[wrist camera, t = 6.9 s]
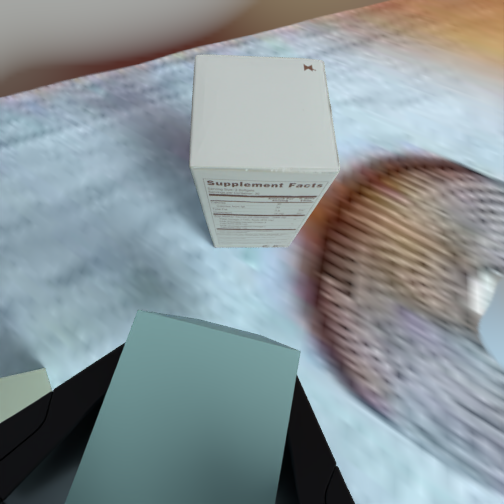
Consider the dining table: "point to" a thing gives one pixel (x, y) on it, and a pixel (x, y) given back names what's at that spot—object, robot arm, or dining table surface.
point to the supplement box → (260, 146)
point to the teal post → (190, 417)
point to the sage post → (22, 391)
